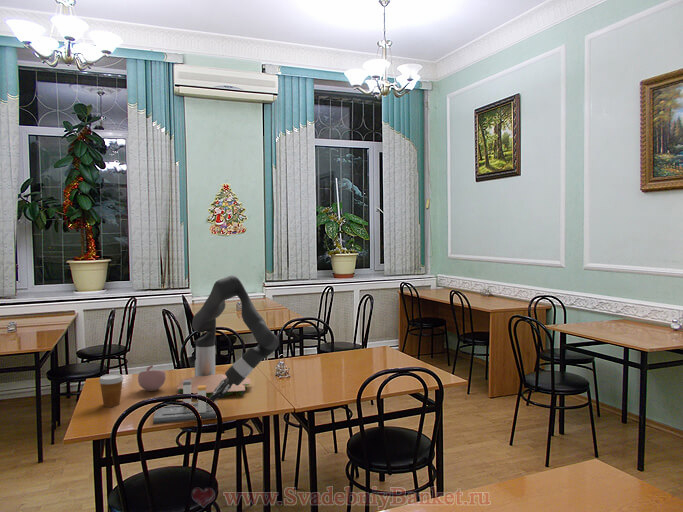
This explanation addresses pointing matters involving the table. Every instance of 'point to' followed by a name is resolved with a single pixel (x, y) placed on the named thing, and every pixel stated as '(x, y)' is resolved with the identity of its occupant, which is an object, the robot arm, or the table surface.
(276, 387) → the table surface
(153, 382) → the pink apple
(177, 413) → the console
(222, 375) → the pink cutting board
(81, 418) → the table surface
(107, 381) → the disposable coffee cup
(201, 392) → the orange fader
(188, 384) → the white fader
